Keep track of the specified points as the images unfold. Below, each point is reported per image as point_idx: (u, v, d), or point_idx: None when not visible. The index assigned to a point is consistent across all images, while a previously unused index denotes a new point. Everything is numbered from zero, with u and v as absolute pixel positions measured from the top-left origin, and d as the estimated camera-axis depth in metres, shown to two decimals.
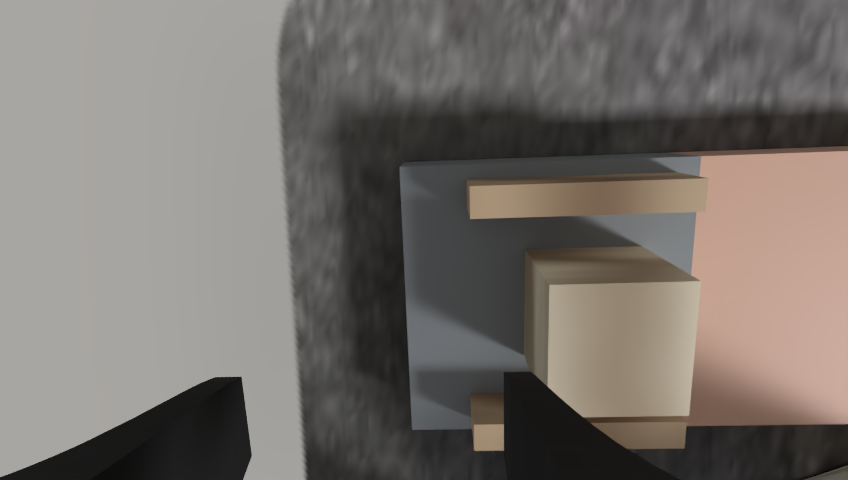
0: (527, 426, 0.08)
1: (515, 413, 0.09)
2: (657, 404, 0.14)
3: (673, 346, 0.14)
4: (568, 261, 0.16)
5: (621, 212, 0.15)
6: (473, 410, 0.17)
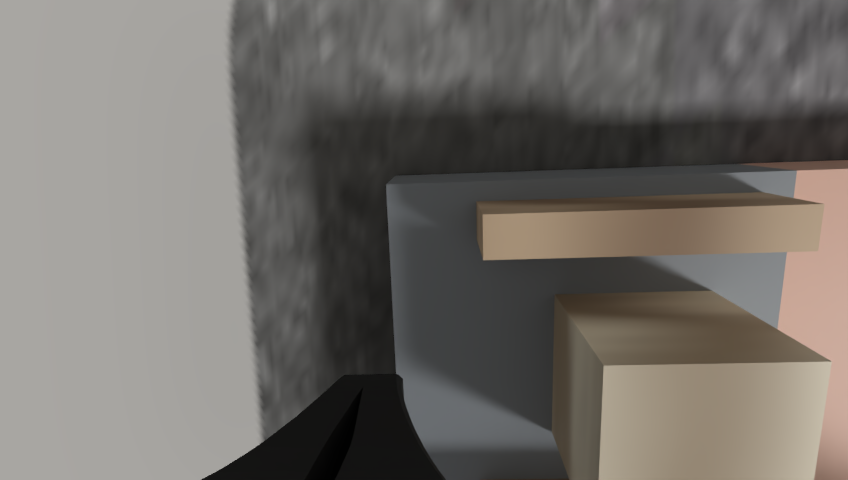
0: None
1: None
2: None
3: (785, 454, 0.09)
4: (619, 317, 0.11)
5: (698, 251, 0.10)
6: None
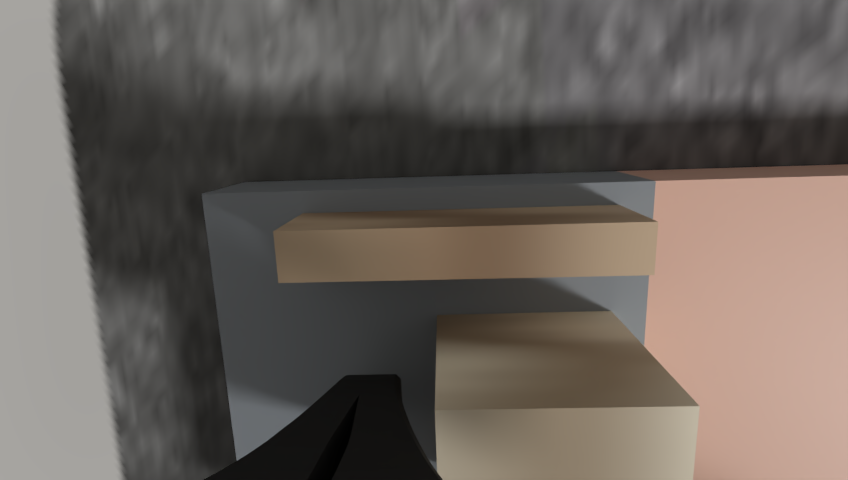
0: None
1: None
2: None
3: None
4: (489, 344, 0.10)
5: (518, 275, 0.09)
6: None
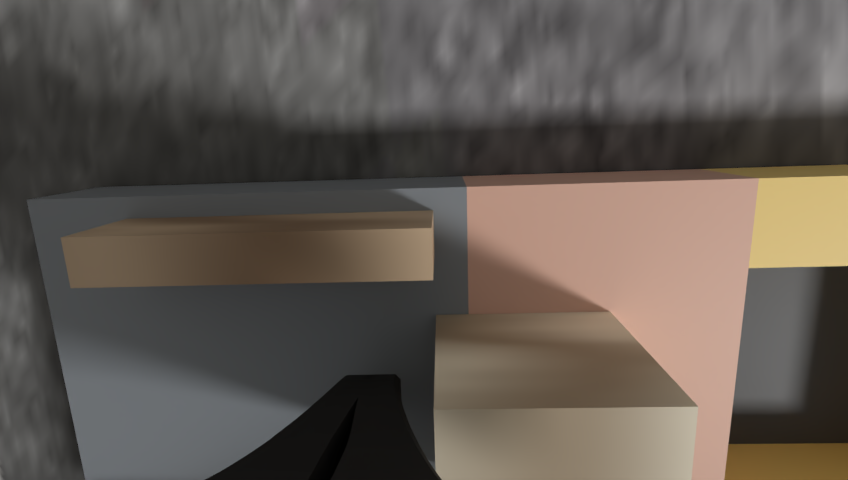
0: None
1: None
2: None
3: None
4: (489, 345, 0.10)
5: (301, 280, 0.09)
6: None
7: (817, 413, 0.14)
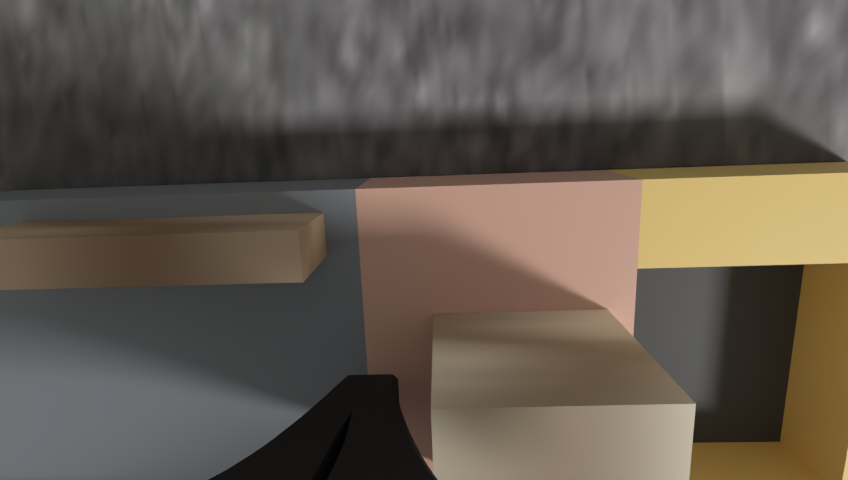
0: None
1: None
2: None
3: None
4: (486, 343, 0.10)
5: (173, 282, 0.09)
6: None
7: (730, 412, 0.14)
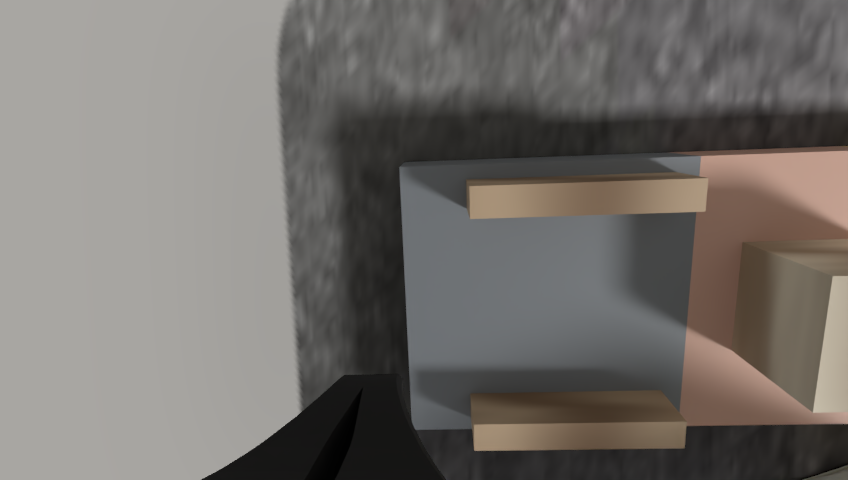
0: None
1: None
2: None
3: None
4: (810, 253, 0.15)
5: (621, 212, 0.15)
6: (473, 410, 0.17)
7: None
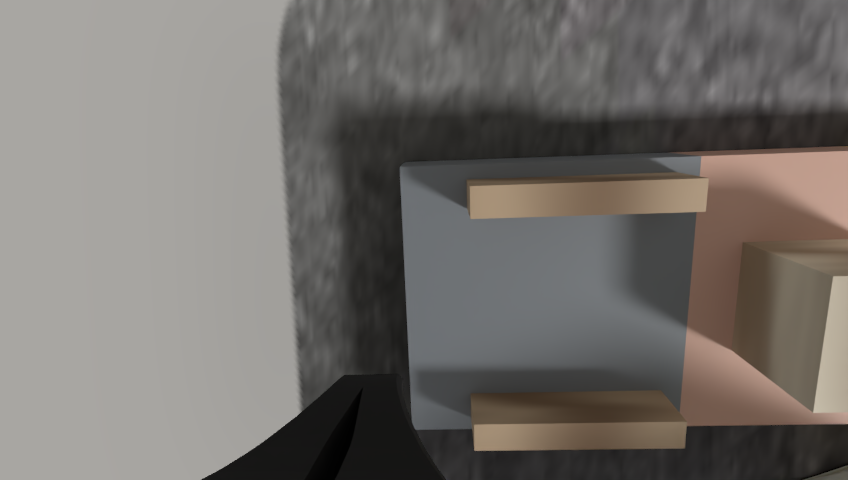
0: None
1: None
2: None
3: None
4: (811, 253, 0.15)
5: (621, 212, 0.15)
6: (473, 410, 0.17)
7: None
